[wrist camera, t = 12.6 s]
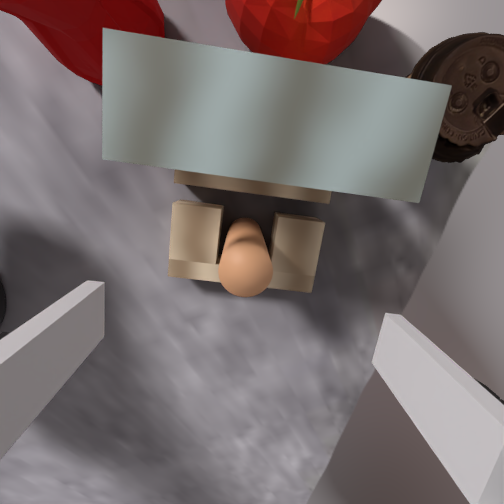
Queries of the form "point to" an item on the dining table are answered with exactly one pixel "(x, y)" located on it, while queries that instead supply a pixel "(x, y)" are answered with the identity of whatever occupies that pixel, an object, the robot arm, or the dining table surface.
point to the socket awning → (263, 138)
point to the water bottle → (85, 27)
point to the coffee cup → (467, 92)
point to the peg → (245, 260)
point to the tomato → (299, 26)
